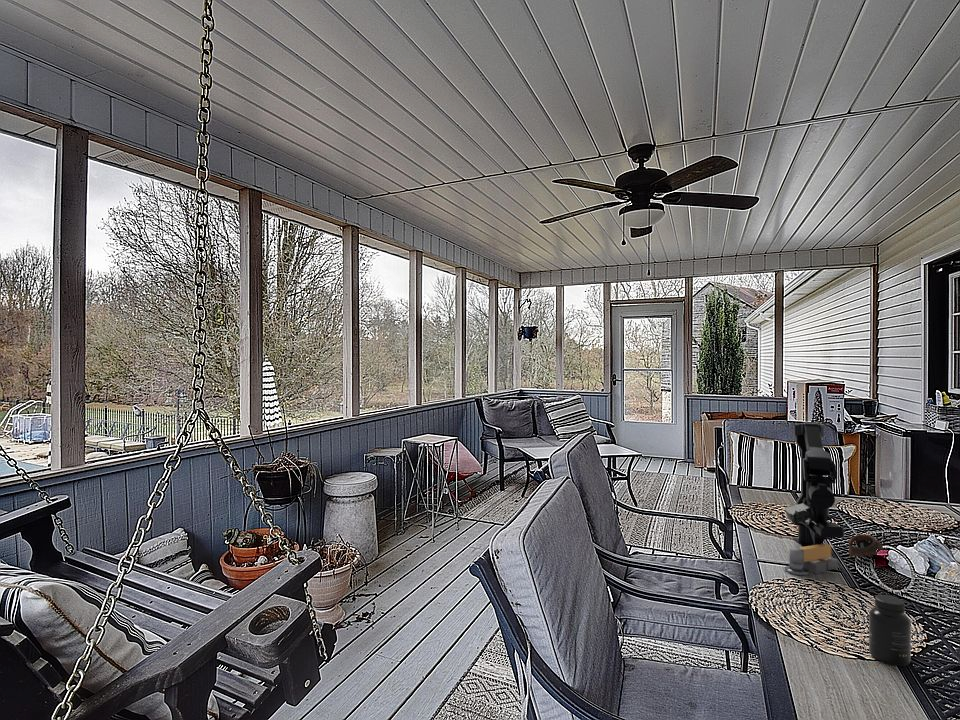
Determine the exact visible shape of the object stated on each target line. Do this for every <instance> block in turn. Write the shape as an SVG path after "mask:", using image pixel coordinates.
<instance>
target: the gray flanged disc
mask: <svg viewBox="0 0 960 720" xmlns="http://www.w3.org/2000/svg"><path fill="white" fill-rule="evenodd" d="M788 564H789V565H785V566H784V571H785V572H786V573H788V574H790V575H793V576H798V577H799V576H801V577H806V576H808V575H809V574H810V571H808V570H807V569H805V568H804V563H803V564H796V563H792V562H790V561H789V563H788Z"/></svg>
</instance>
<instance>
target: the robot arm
mask: <svg viewBox="0 0 960 720" xmlns="http://www.w3.org/2000/svg"><path fill="white" fill-rule="evenodd" d="M824 428H825V427H824V425H821V424H820V423H818V422H809V421H808V422H802V423H797V424H795V425H793V428H792V436H793V438H795V444H796V445H797V447H798V448H799V450H800V487H801V488H800V490H801V491H800V495H799V497H798V498H797V499H796V502H795V505H792V506H789V507H788V506H787V507H786V508H785V509H784V511H785V514H786V517H787V519H788V520H789V521H791V523H792V524H793V525H794V526H797V537H796V538H793V540H794V541H795V542H796V543H798V544H799V545H801V547H806V546H812V545H818V544H824V541H825V540H826V539H827V538H844V537H845V529H844V528H842V526H840V525H839V523H838V524H837V523H836V522H832V520H833V517H832V516H831V515H830V508H832V507H833V506H834V504H835V502H836V498H835V495H834V493H833V492H832V489H831V486H830V484H834V485H835V484H836V481H837V480H838V473H837V472H838V471H837V464H835V461H834V460H832V458H831V455H830V453H829V452H828V451H826V450H825V448H824V446H823V441H822V440H823V439H824V438H825V432H824V431H825V430H824ZM830 521H831V522H830Z"/></svg>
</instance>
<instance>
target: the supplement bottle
mask: <svg viewBox="0 0 960 720" xmlns="http://www.w3.org/2000/svg"><path fill="white" fill-rule="evenodd" d="M874 600H875V601H874V607H873V608H871V609H870V611H869V615H868V651H869V653H870V655H871V656H872V657H873V658H874V659H876V660H878V661H879V662H882V663H885V664H887V665H891V666H895V667H905V666H908V665H909V664H910V663H911V655H912V654H911V653H912V650H911V649H912V646H911V643H912V641H911V640H912V639H911V638H912V635H911V633H912V631H911V630H912V627H911V626H912V623H911V619H910V618H909V616H908V615H907V614H905V613H906V608H905V601H904V600H903V599H900V598H899V597H896V596H893V595H888V594H876V595H875V598H874Z"/></svg>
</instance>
